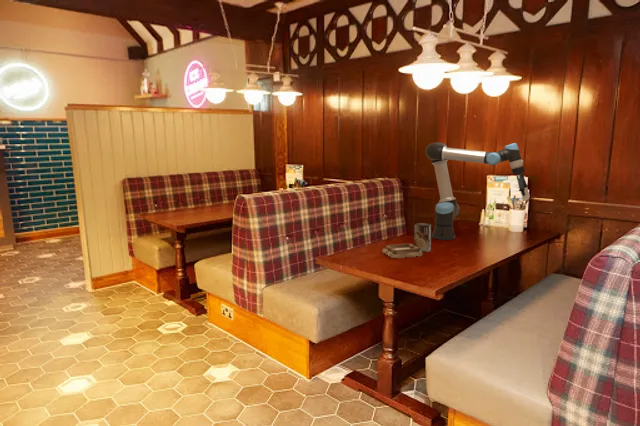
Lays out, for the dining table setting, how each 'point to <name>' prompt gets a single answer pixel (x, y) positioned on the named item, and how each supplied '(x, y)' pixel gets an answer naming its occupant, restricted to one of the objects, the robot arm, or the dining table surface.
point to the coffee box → (422, 236)
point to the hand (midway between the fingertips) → (526, 199)
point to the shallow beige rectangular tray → (402, 250)
